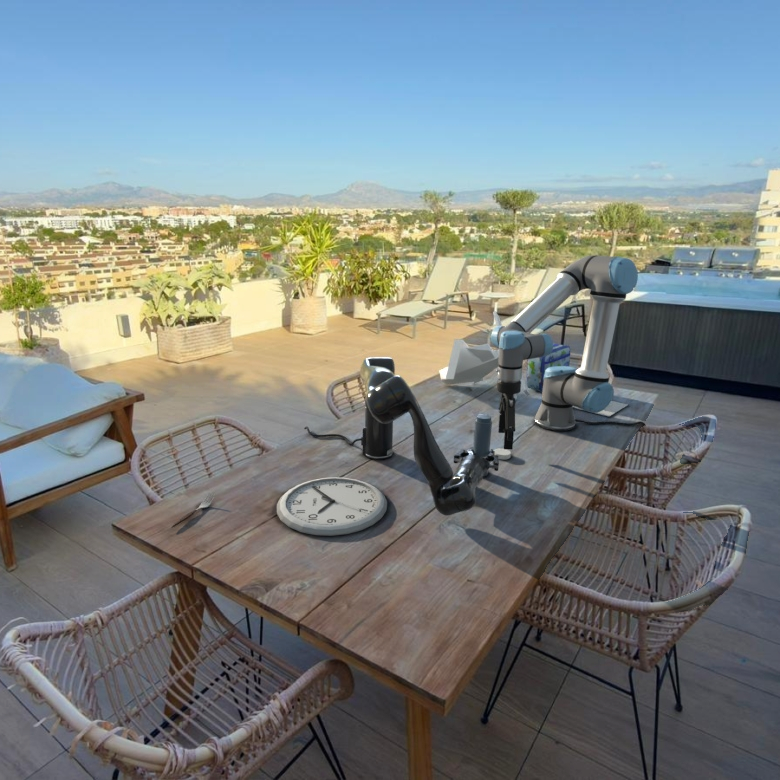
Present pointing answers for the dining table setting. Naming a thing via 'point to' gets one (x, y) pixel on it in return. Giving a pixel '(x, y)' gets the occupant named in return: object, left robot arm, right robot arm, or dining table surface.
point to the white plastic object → (473, 363)
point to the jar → (482, 435)
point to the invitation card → (610, 408)
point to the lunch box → (546, 365)
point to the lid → (502, 453)
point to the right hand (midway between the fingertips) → (505, 440)
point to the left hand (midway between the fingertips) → (482, 450)
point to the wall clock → (331, 506)
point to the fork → (203, 505)
